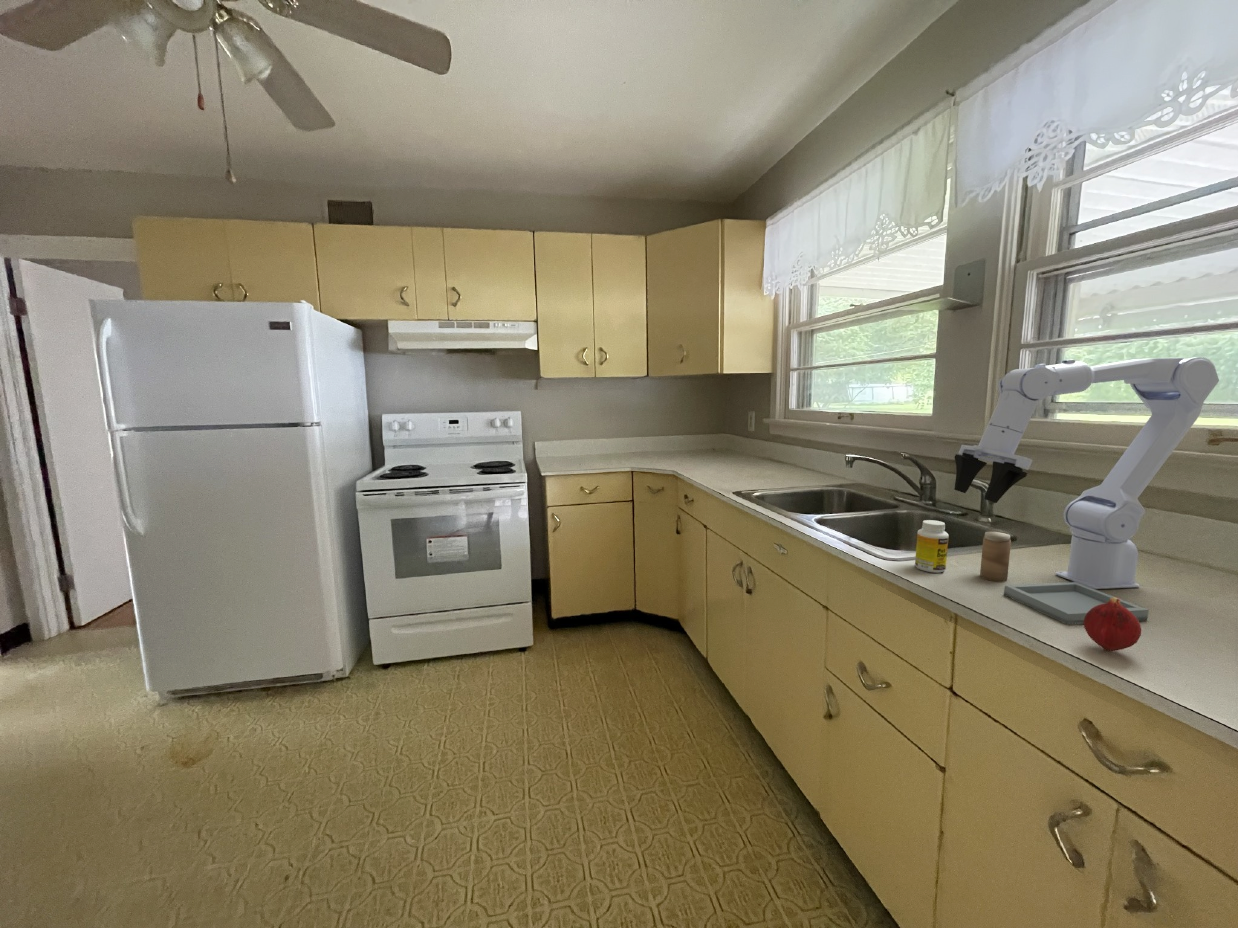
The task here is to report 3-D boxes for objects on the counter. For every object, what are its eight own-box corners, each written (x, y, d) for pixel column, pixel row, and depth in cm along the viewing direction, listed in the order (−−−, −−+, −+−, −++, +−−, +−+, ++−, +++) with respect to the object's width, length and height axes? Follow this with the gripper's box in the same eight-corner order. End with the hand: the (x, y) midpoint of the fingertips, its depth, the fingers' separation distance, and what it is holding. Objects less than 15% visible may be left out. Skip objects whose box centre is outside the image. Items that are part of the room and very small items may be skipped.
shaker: (994, 573, 101) (998, 530, 100) (1013, 581, 97) (1017, 537, 96) (974, 574, 101) (978, 531, 100) (992, 582, 97) (996, 537, 95)
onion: (1144, 666, 67) (1152, 610, 66) (1086, 654, 70) (1093, 601, 69) (1129, 647, 72) (1136, 595, 71) (1076, 637, 75) (1082, 587, 74)
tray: (1074, 591, 92) (1075, 581, 92) (1147, 620, 80) (1148, 609, 80) (1003, 594, 91) (1004, 585, 91) (1067, 624, 79) (1068, 613, 79)
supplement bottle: (938, 575, 100) (941, 527, 99) (909, 568, 105) (913, 521, 104) (950, 570, 104) (954, 522, 102) (922, 562, 108) (926, 517, 107)
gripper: (958, 419, 100) (930, 481, 102) (1020, 427, 86) (986, 499, 88) (987, 430, 101) (959, 491, 103) (1054, 440, 87) (1020, 511, 89)
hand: (974, 496), depth 95 cm, fingers open, 7 cm apart
